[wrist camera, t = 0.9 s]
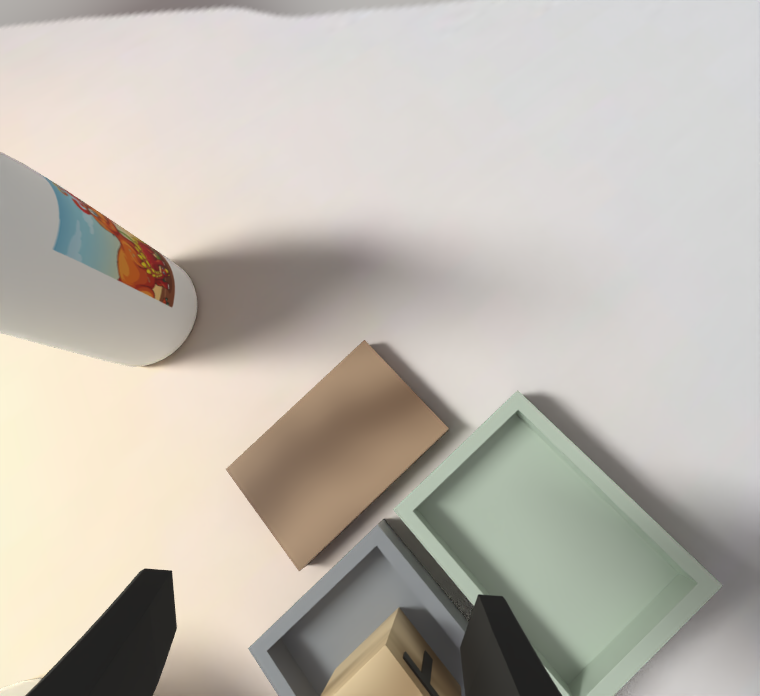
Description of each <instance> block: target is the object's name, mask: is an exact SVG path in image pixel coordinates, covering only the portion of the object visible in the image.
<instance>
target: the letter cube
mask: <svg viewBox="0 0 760 696" xmlns="http://www.w3.org/2000/svg"><path fill="white" fill-rule="evenodd" d="M321 696H461V686H460V685H459V684H458V682H457V681H456V680H455V678H454V677H453V676H452V675H451V673H450V672H449V671H448V669H447V668H446V667H445V666H444V664H443V663H442V662H441V660H440V659H439V658H438V657H437V655H436V654H435V653H434V651H433V650H432V649H431V648H430V646H429V645H428V644H427V642H426V641H425V640H424V639H423V637H422V636H421V635H420V633H419V632H418V631H417V630H416V628H415V627H414V626H413V624H412V623H411V622H410V621H409V619H408V618H407V617H406V615H405V614H404V613H403V612H402V610H401V609H400V608H397V609H396V610H395V611H394V612H393V613H392V614H391V615H390V616H389V617H388V618H387V619H386V620H385V621H384V622H383V623H382V624H381V625H380V626H379V627H378V628H377V629H376V630H375V631H374V632H373V633H372V634H371V635H370V636H369V637H368V638H367V639H366V640H365V641H363V642H362V643H361V644H360V645H359V646H358V647H357V648H356V649H355V650H354V651H353V652H352V653H351V654H350V655H349V656H348V657H347V658H346V659H345V660H344V661H343V662H342V663H341V664H340V665H339V666H338V667H337V668H336V669H335V670H334V672H333V674H332V676H331V678H330V680H329V681H328V683H327V685H326V687H325V689H324V690H323V692H322V694H321Z"/></svg>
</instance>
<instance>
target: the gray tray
mask: <svg viewBox="0 0 760 696" xmlns="http://www.w3.org/2000/svg"><path fill="white" fill-rule="evenodd" d="M397 608H400V609H401V610H402V612H403V613H404V614H405V615H406V617H407V618H408V619H409V621H410V622H411V623H412V624H413V626H414V627H415V628H416V630H417V631H418V632H419V633H420V635H421V636H422V637H423V639H424V640H425V641H426V642H427V644H428V645H429V646H430V648H431V649H432V650H433V651H434V653H435V654H436V655H437V657H438V658H439V659H440V660H441V662H442V663H443V664H444V666H445V667H446V668H447V669H448V671H449V672H450V673H451V675H452V676H453V677H454V678H455V680H456V681H457V682H458V684H459V685H460V686H461V696H465V689H464V681H463V672H462V662H461V652H460V646H461V643H462V640H463V637H464V634H465V631H466V628H467V625H468V623H469V622H468V621H467V619H466V618H465V617H464V616H463V614H462V613H461V612H460V611H459V610H458V608H457V607H456V606H455V605H454V604H453V602H452V601H451V600H450V599H449V597H448V596H447V595H446V594H445V593H444V591H443V590H442V589H441V588H440V587H439V585H438V584H437V583H436V582H435V580H434V579H433V578H432V577H431V576H430V574H429V573H428V572H427V571H426V570H425V568H424V567H423V566H422V565H421V563H420V562H419V561H418V560H417V559H416V557H415V556H414V555H413V554H412V552H411V551H410V550H409V549H408V548H407V546H406V545H405V544H404V543H403V542H402V540H401V539H400V538H399V537H398V535H397V534H396V533H395V532H394V531H393V529H392V528H391V527H390V526H389V525H388V523H387V522H386V521H385V520H384V519H383V520H382V521H381V522H380V523H379V524H378V525H377V526H376V527H375V528H373V529H372V530H371V531H370V532H369V533H368V534H367V535H366V536H365V537H364V538H363V539H362V540H361V541H360V542H359V543H358V544H357V545H356V546H355V547H354V548H353V549H352V550H351V551H349V552H348V553H347V554H346V555H345V556H344V557H343V558H342V559H341V560H340V561H339V562H338V563H337V564H336V565H335V566H334V567H333V568H332V569H331V570H330V571H329V572H328V573H326V574H325V575H324V576H323V577H322V578H321V579H320V580H319V581H318V582H317V583H316V584H315V585H314V586H313V587H312V588H311V589H310V590H309V591H308V592H307V593H306V594H305V595H304V596H302V597H301V598H300V599H299V600H298V601H297V602H296V603H295V604H294V605H293V606H292V607H291V608H290V609H289V610H288V611H287V612H286V613H285V614H284V615H283V616H282V617H281V618H280V619H278V620H277V621H276V622H275V623H274V624H273V625H272V626H271V627H270V628H269V629H268V630H267V631H266V632H265V633H264V634H263V635H262V636H261V637H260V638H259V639H258V640H257V641H255V642H254V643H253V644H252V645H251V646H250V647H249V648H248V649H249V650H250V652H251V654H252V655H253V657H254V658H255V660H256V661H257V663H258V665H259V666H260V668H261V669H262V671H263V672H264V674H265V676H266V677H267V679H268V680H269V682H270V683H271V685H272V686H273V688H274V690H275V691H276V693H277V694H278V696H321V694H322V692H323V690H324V689H325V687H326V685H327V683H328V681H329V680H330V678H331V676H332V674H333V672H334V670H335V669H336V668H337V667H338V666H339V665H340V664H341V663H342V662H343V661H344V660H345V659H346V658H347V657H348V656H349V655H350V654H351V653H352V652H353V651H354V650H355V649H356V648H357V647H358V646H359V645H360V644H361V643H362V642H363V641H365V640H366V639H367V638H368V637H369V636H370V635H371V634H372V633H373V632H374V631H375V630H376V629H377V628H378V627H379V626H380V625H381V624H382V623H383V622H384V621H385V620H386V619H387V618H388V617H389V616H390V615H391V614H392V613H393V612H394V611H395V610H396V609H397Z"/></svg>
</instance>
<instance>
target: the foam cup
mask: <svg viewBox="0 0 760 696" xmlns="http://www.w3.org/2000/svg"><path fill="white" fill-rule="evenodd" d="M40 680H41V678H39V679H33V680H27V681H21V682H18V683H16V684H14V685H10V686H6V687H3V688H1V689H0V696H25V695H26V694H27V693H28V692H29V691H30V690H31V689H32V688H33V687H34V686H35V685H36V684H37V683H38V682H39V681H40Z"/></svg>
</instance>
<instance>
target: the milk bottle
mask: <svg viewBox="0 0 760 696" xmlns="http://www.w3.org/2000/svg"><path fill="white" fill-rule="evenodd" d="M196 314H197V296H196V291H195V288H194V286H193V283H192V281H191V279H190V277H189V276H188V275H187V273H186V272H185V271H184V270H183V269H182V268H180V267H179V266H178V265H176V264H175V263H174V262H172V261H171V260H169V259H168V258H166V257H165V256H164V255H162V254H161V253H159V252H158V251H156V250H155V249H153V248H152V247H150V246H149V245H147V244H146V243H144V242H143V241H141V240H140V239H138V238H137V237H135V236H134V235H132V234H131V233H129V232H128V231H126V230H125V229H124V228H122V227H121V226H119V225H118V224H116V223H115V222H113V221H112V220H110V219H109V218H107V217H106V216H104V215H103V214H101V213H100V212H98V211H97V210H95V209H93V208H92V207H90V206H89V205H87V204H86V203H84V202H83V201H81V200H80V199H78V198H77V197H75V196H74V195H72V194H71V193H69V192H68V191H66V190H65V189H63V188H62V187H60V186H59V185H57V184H55V183H54V182H52V181H50V180H49V179H47V178H46V177H44V176H42V175H41V174H39V173H38V172H36V171H34V170H33V169H31V168H30V167H28V166H26V165H25V164H23V163H21V162H19V161H17V160H15V159H13V158H11V157H9V156H8V155H6V154H4V153H2V152H0V333H2V334H6V335H10V336H13V337H17V338H21V339H25V340H28V341H32V342H36V343H39V344H43V345H47V346H51V347H54V348H58V349H62V350H66V351H70V352H73V353H77V354H81V355H85V356H89V357H93V358H96V359H100V360H104V361H108V362H112V363H116V364H121V365H126V366H133V367H136V366H145V365H149V364H153V363H155V362H158V361H160V360H163V359H165V358H166V357H168V356H169V355H171V354H172V353H174V352H175V351H176V350H177V349H178V348H179V347H180V346H181V345H182V344H183V342H184V341H185V340H186V339H187V337H188V335H189V333H190V332H191V330H192V328H193V325H194V322H195V319H196Z"/></svg>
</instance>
